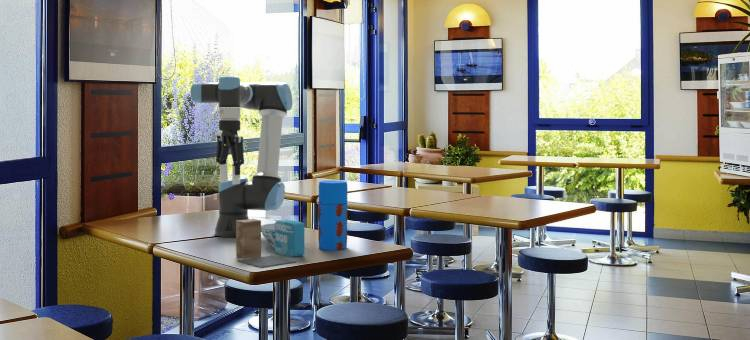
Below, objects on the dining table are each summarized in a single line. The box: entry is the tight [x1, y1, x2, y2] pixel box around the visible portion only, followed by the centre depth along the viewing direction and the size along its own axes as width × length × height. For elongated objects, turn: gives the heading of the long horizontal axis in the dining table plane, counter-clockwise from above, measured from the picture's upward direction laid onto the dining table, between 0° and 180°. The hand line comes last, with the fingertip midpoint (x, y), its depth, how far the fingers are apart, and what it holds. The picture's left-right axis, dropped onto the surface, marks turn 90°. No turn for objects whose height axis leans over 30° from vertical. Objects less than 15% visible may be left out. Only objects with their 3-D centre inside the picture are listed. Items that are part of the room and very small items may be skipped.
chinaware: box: [261, 222, 275, 248], centre depth 291 cm, size 15×15×8 cm
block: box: [235, 218, 262, 260], centre depth 268 cm, size 5×7×13 cm
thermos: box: [318, 180, 348, 252], centre depth 287 cm, size 11×11×25 cm
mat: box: [237, 254, 297, 269], centre depth 261 cm, size 14×14×1 cm
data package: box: [274, 219, 306, 258], centre depth 274 cm, size 12×4×12 cm, turn 43°
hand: (229, 183), depth 276 cm, fingers open, 8 cm apart
